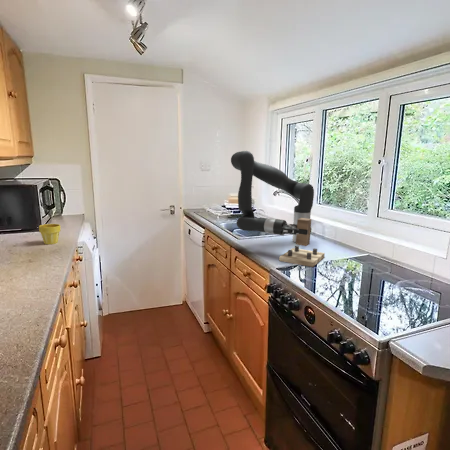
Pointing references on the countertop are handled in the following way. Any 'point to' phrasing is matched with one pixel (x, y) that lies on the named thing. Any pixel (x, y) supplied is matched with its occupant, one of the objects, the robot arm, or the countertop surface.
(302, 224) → the walnut block
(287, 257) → the wooden peg board
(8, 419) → the countertop surface
